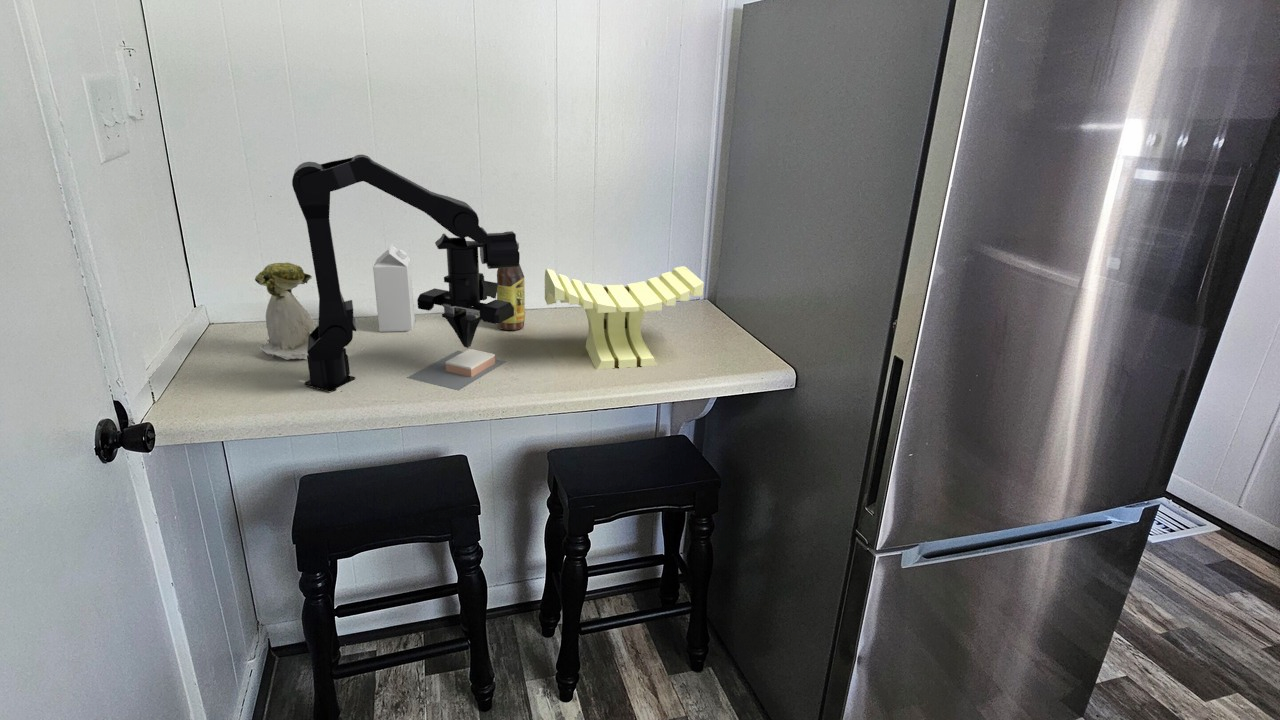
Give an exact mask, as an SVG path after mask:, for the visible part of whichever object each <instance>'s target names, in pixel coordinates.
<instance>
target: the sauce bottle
mask: <svg viewBox="0 0 1280 720" xmlns="http://www.w3.org/2000/svg"><path fill="white" fill-rule="evenodd" d="M517 246H518V250H519V248H520V243H519V242H518V241H517ZM496 281H497V282H496V283H498V288H497V294H496V300H501V301H506V302H510V303H511V304H512V305H513V307H514V316H513V317H511V318H509V319H507V320H505V321H503V322H501V323H499V324H497V325H498V328H500V329H501V330H504V331H517V330H520V329H522V328H524V327H525V320H526V310H525V309H526V307H525V305H526V302H525V301H526V300H525V299H526V295H525V293H526V292H525V275H524V272H523V270H522V267H521V265H520V263H519V266H518V267H512V268H497V271H496Z"/></svg>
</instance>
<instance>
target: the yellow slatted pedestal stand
mask: <svg viewBox="0 0 1280 720" xmlns="http://www.w3.org/2000/svg"><path fill="white" fill-rule="evenodd" d="M704 286H705V283H704V281H703V280H702V279H700V278H699V277H698V276H697V275H696V274H695V273H693V272H692V271H691V270H690V269H689V268H688V267H686V266H685V265H683V266H682V265H681V266H676V267H674V268H673V270H672V271H666V272H663V273H660V274H659V277H658V276H654V277H651V278H648V279H647V282H646V281H643V280H642V281H637V282H632V283H626V285H623V284H605V286H603V285H602V284H597V283H589V282H584V284H583V283H582V281H581V280H579V279H575V278H571V281H570V278H569V277H568V276H567V275H564V274H561V273H559V274H558V276H557V274H556V272H555V270H553V269H551V268H546V269H545V272H544V300H545V303H546V306H549V305H553V304H557V301H559V302H560V303H562V304H563V303H568V304H569V305H570V306H571V305H573V306H575V305H578V306H580V307H582V308H583V309H584V310H585V315H586V317H587V321H588V322H587V323H588V332H587V337H586V340H585V341H586V342H585V349H586V350H587V354H588V355H589V358H590V360H591V362H592V365H593V366H594V368H595V370H596V369H602V370H613V369H612V368H614V369H615V368H618V367H619V368H620V369H626V368H625V367H640V366H652V365H653V366H654V365H658V363H657V362H656V358H655V357H654V356H653V354H652V353H651V352H650V349H649V348H648V346H647V344H646V343H645V341H644V337H643V336H642V331H641V328H642V327H641V326H642V321H643V319H644V316H645V314H646V313H647V312H656V311H657V312H661V311H662V310H663V304H664V305H665V306H666V307H675V306H676V305H677V304H676V303H677V300H678V301H680V302H689V301H690V294H691V296H693V297H703V296H704ZM619 368H618V369H619Z"/></svg>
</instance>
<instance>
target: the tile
mask: <svg viewBox="0 0 1280 720" xmlns="http://www.w3.org/2000/svg"><path fill="white" fill-rule="evenodd" d="M462 352H463V353H461V354H459V355H457V356H455V357H453V358H452V359H450V360H448V361H446V362H445V365H446V371H447V372H451V373H455V374H460V375H464V376H468V377H473V376H475V375H476V374H478V373H480V372H481V371H483V370H485V369H486V368H488V367H490V366H491V365H493V364H495V359H496V354H495V353H491V352H488V351H487V352H486V351H482V350H477V349H472V348H467V350H465V351H462Z"/></svg>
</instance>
